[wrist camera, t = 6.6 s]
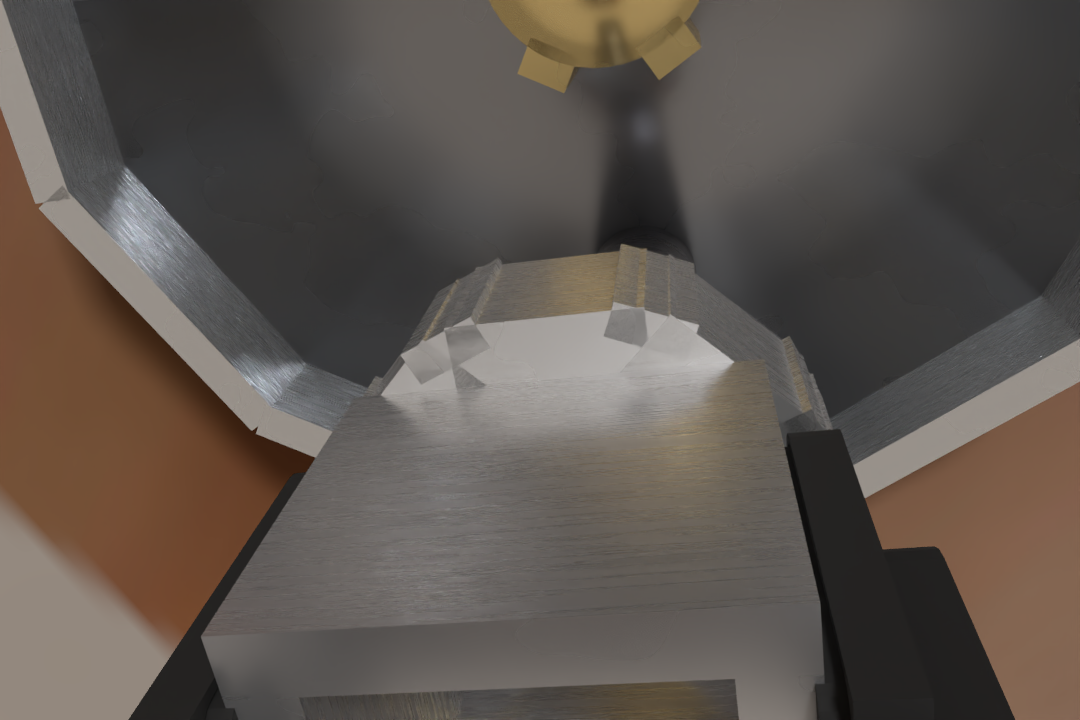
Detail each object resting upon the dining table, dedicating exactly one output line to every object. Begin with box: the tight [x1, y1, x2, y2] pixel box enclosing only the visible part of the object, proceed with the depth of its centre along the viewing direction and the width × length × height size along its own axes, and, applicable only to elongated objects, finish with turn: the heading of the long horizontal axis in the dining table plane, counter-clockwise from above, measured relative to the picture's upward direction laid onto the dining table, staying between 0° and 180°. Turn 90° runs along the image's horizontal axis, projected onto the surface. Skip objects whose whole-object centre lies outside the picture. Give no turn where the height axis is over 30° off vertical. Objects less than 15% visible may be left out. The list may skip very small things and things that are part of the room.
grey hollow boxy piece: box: [201, 244, 833, 720], centre depth 10 cm, size 6×6×6 cm
